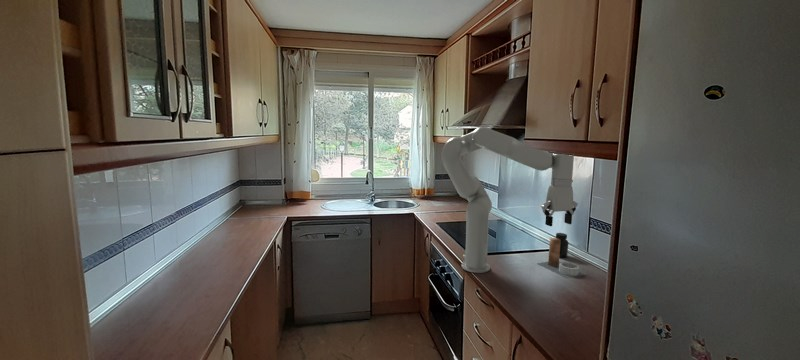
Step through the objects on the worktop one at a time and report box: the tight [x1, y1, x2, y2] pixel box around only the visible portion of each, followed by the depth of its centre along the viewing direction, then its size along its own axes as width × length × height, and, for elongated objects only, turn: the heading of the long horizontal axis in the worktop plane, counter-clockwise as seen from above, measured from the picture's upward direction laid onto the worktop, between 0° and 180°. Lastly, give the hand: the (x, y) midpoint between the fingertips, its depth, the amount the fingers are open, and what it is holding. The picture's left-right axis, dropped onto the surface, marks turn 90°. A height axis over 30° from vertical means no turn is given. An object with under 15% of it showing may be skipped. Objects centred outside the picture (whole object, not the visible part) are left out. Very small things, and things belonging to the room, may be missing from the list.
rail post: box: [547, 237, 561, 267], centre depth 158 cm, size 4×4×12 cm
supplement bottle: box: [555, 232, 569, 259], centre depth 170 cm, size 7×7×12 cm
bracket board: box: [536, 261, 588, 279], centre depth 154 cm, size 17×12×4 cm
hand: (558, 224), depth 141 cm, fingers open, 9 cm apart
